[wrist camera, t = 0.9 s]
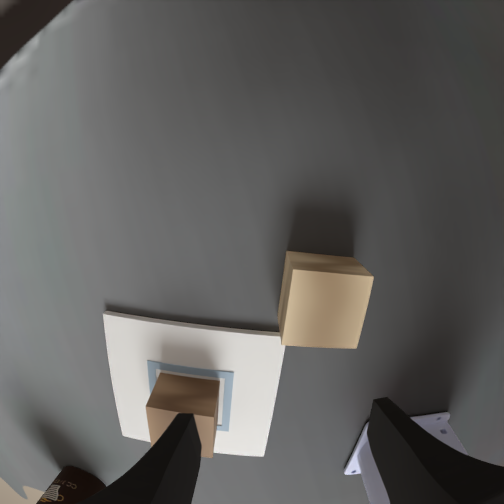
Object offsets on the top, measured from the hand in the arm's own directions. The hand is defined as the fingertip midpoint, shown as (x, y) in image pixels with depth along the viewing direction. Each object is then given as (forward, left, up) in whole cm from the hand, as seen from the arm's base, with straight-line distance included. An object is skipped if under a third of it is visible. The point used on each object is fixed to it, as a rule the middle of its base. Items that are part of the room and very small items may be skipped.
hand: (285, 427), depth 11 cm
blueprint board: (+6, +8, -10) cm, 14 cm away
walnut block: (+6, +8, -10) cm, 14 cm away
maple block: (-2, -2, -10) cm, 11 cm away
